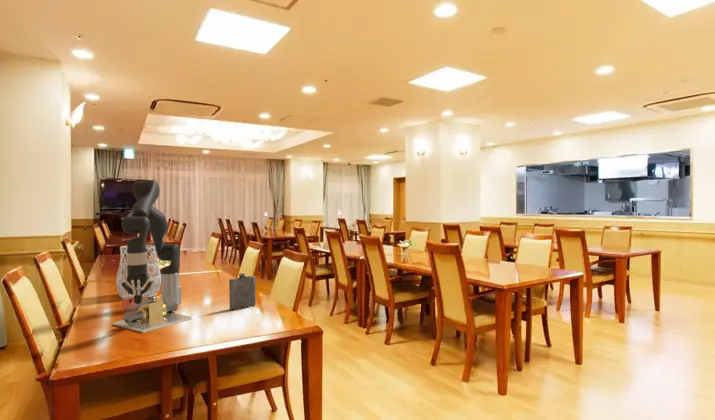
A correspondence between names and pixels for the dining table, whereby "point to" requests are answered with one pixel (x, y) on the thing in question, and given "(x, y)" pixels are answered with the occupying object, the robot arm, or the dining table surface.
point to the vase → (156, 273)
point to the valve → (152, 316)
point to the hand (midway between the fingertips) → (138, 303)
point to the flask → (242, 291)
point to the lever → (129, 303)
